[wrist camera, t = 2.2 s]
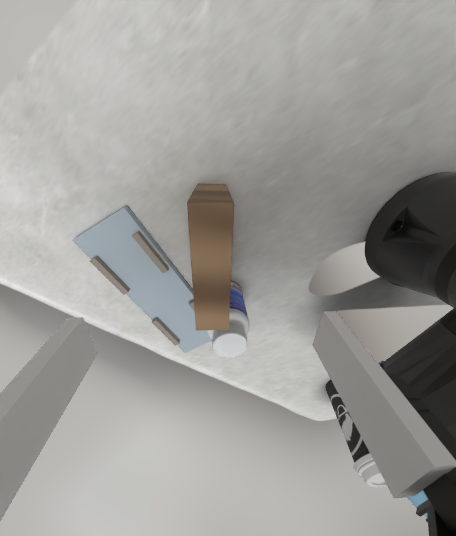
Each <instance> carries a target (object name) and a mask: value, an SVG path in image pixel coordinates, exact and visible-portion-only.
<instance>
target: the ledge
mask: <svg viewBox="0 0 456 536" xmlns="http://www.w3.org/2000/svg"><path fill="white" fill-rule="evenodd" d="M72 241H73V242H74V243H75V244H76V245H77V246H78V247H79V248H80V249H81V250H82V251H83V252H84V253H85V254H86V255H87V256H88V257H89V258H90V259H91V260H90V262H91V263H92V264H93V265H94V266H95V267H96V268H97V269H98V270H99V271H100V272H101V273H102V274H103V275H104V276H105V277H106V278H107V279H108V280H109V281H110V282H111V283H112V284H113V285H114V286H115V287H116V288H117V289H118V290H119V291H120V292H121V293H123V294H127V295H128V296H129V297H130V298H131V299H132V300H133V301H134V302H135V303H136V304H137V305H138V306H139V307H140V308H141V309H142V310H143V311H144V312H145V313H146V314H147V315H148V316H149V317H150V318H151V319H152V323H153V324H154V325H155V326H156V327H157V328H158V329H159V330H160V331H161V332H162V333H163V334H164V335H165V336H166V337H167V338H168V339H169V340H170V341H171V342H172V343H173V344H174V345H178V346H179V347H180V348H181V349H182V350H183V351H184V352H187V351H189V350H192V349H194V348H196V347H198V346H201V345H203V344H205V343H207V342H210V341H212V339H211V338H210V336H209V335H208V332H207V330H201V331H196V326H195V311H194V296H193V289H192V288H191V287H190V286H189V284H188V283H187V282H186V280H185V279H184V278H183V277H182V275H181V274H180V273H179V272H178V270H177V269H176V268H175V266H174V265H173V264H172V263H171V261H170V260H169V259H168V257H167V256H166V255H165V254H164V252H163V251H162V250H161V248H160V247H159V246H158V245H157V243H156V242H155V241H154V240H153V238H152V237H151V236H150V234H149V233H148V232H147V231H146V229H145V228H144V227H143V225H142V224H141V223H140V222H139V220H138V219H137V218H136V217H135V215H134V214H133V213H132V211H131V210H130V209H129V208H128V206H125V207H124V208H122V209H120V210H119V211H117V212H116V213H114V214H112V215H111V216H109V217H108V218H106V219H105V220H103V221H101V222H100V223H98V224H97V225H95V226H94V227H92V228H90V229H89V230H87V231H86V232H84V233H83V234H81V235H79V236H78V237H76V238H75V239H73V240H72Z"/></svg>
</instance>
